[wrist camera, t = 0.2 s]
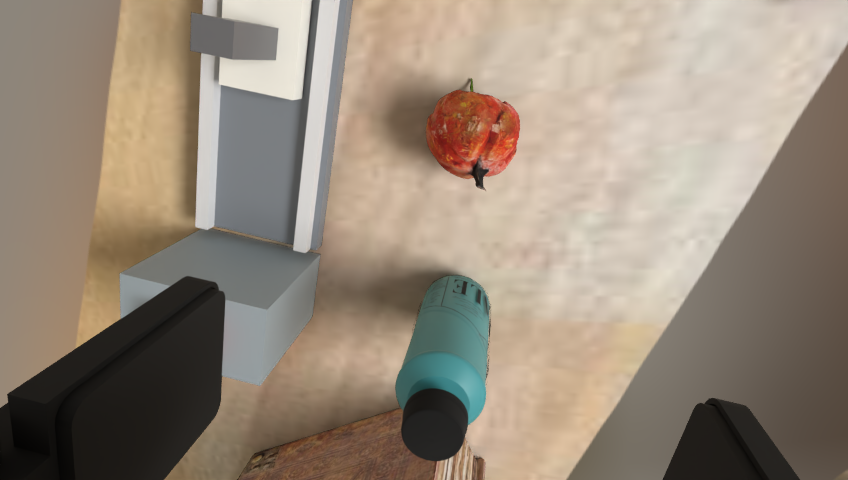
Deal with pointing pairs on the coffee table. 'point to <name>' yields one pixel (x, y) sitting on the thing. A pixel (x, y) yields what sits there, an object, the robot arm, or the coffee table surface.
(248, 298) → the button cabinet
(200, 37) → the carriage
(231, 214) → the rail bed
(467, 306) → the beverage bottle
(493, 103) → the pomegranate
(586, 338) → the coffee table surface
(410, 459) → the book
